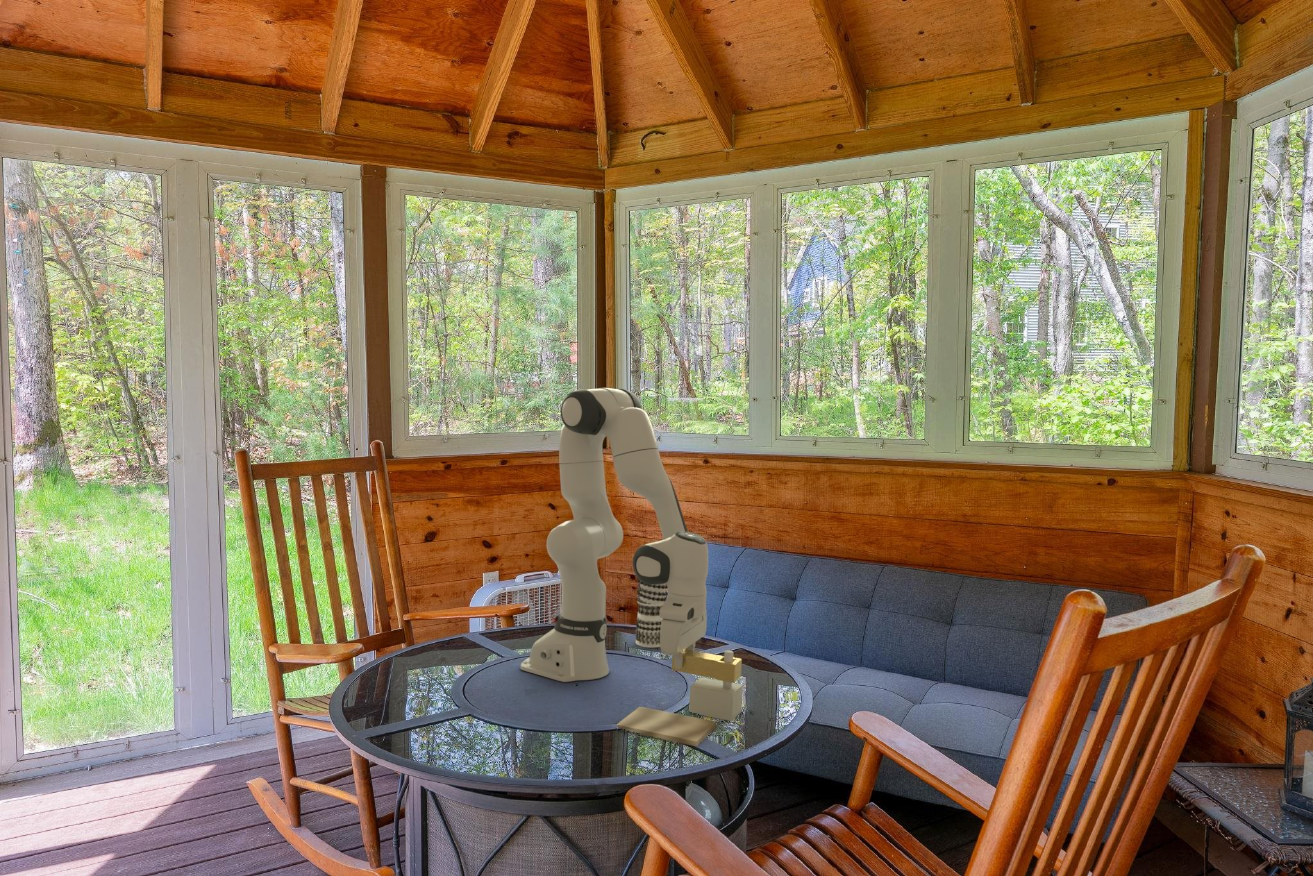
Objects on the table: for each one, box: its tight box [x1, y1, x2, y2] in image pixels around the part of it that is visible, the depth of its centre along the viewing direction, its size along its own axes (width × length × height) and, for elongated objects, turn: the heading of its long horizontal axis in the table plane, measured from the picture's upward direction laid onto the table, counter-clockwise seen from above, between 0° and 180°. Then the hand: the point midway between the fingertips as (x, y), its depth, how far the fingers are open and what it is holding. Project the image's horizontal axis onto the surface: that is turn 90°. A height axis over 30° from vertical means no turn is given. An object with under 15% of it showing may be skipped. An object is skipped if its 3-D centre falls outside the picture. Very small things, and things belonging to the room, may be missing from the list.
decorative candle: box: [635, 577, 668, 648], centre depth 241 cm, size 9×9×25 cm
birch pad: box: [615, 706, 717, 747], centre depth 180 cm, size 18×12×1 cm, turn 67°
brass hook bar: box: [671, 649, 743, 683], centre depth 191 cm, size 15×5×4 cm, turn 67°
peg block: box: [688, 650, 744, 722], centre depth 190 cm, size 10×7×14 cm
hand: (683, 664), depth 194 cm, fingers closed on brass hook bar, 4 cm apart
